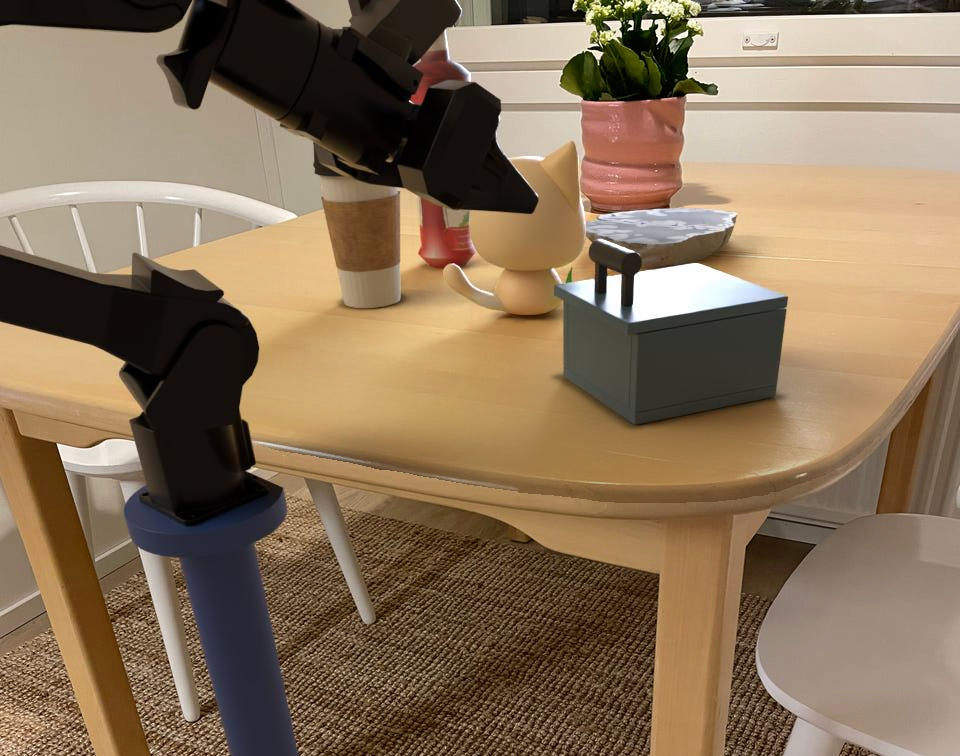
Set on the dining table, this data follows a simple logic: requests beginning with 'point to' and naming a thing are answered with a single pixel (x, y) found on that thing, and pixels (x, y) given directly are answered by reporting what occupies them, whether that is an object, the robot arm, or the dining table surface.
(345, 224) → the coffee cup
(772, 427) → the dining table surface
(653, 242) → the grey flat stone slab
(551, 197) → the beige cat figurine
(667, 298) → the lid
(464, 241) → the liquor
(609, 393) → the cooler
